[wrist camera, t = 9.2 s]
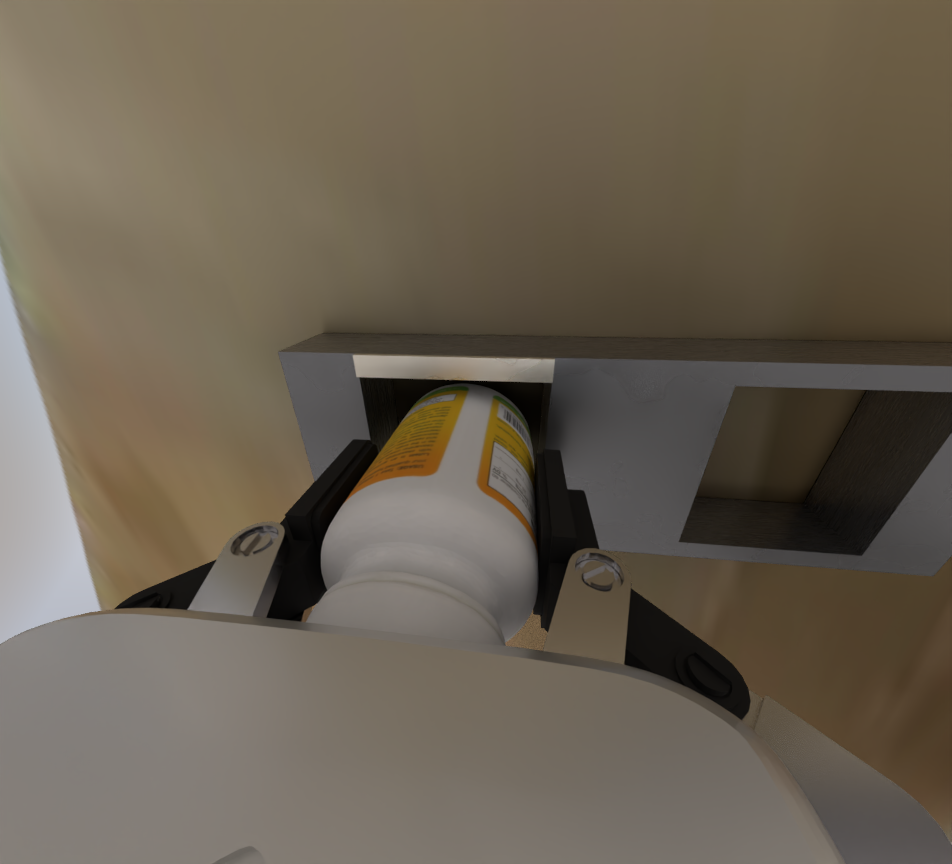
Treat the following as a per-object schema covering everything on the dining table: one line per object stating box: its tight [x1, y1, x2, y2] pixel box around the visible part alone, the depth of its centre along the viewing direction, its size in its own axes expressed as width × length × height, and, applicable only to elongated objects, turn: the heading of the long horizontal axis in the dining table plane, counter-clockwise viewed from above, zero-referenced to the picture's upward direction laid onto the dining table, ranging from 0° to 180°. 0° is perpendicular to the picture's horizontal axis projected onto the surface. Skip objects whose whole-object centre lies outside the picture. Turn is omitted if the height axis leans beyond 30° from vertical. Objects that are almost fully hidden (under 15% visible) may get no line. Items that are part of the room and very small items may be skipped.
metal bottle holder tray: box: [278, 333, 952, 576], centre depth 13 cm, size 24×8×3 cm, turn 91°
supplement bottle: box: [306, 383, 539, 646], centre depth 10 cm, size 5×5×10 cm
